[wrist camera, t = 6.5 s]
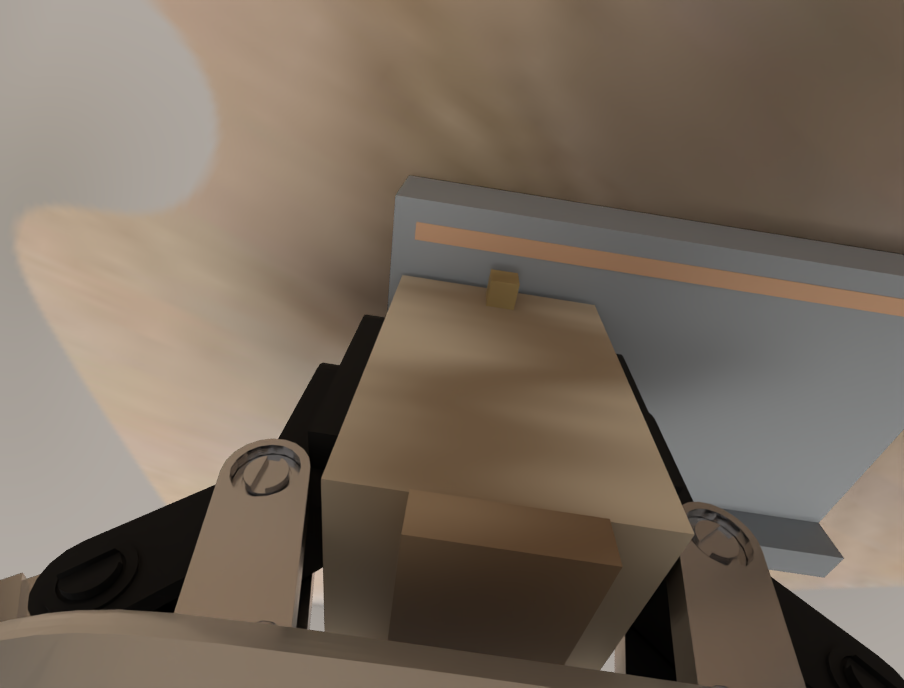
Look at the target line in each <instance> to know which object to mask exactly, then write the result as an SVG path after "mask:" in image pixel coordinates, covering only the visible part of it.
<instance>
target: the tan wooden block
mask: <svg viewBox="0 0 904 688" xmlns="http://www.w3.org/2000/svg"><path fill="white" fill-rule="evenodd" d="M519 286H520V284H519V276H518V273H513V272H506V271H500V270H494V269H491V271H490V276H489V281H488V286H487V288H483V287H476V286H470V285H464V284H457V283H451V282H445V281H438V280H432V279H426V278H419V277H413V276H406V275H402V277H401V280H400V282H399V285H398V287H397V290H396V292H395V295H394V297H393V300H392V302H391V305H390V307H389V310H388V312H387V315H386V317H385V320H384V322H383V325H382V327H381V330H380V332H379V335H378V337H377V340H376V342H375V345H374V347H373V350H372V352H371V355H370V357H369V360H368V362H367V365H366V367H365V370H364V372H363V375H362V377H361V380H360V382H359V385H358V387H357V390H356V392H355V395H354V397H353V400H352V402H351V405H350V407H349V410H348V412H347V415H346V417H345V420H344V422H343V425H342V427H341V430H340V432H339V435H338V437H337V440H336V442H335V445H334V447H333V450H332V452H331V455H330V457H329V460H328V463H327V465H326V468H325V470H324V473H323V475H322V478H321V499H322V541H323V583H324V622H325V623H324V624H325V632H329V633H337V634H344V635H351V636H359V637H366V638H373V639H381V640H388V641H395V642H402V643H410V644H417V645H424V646H432V647H439V648H446V649H453V650H460V651H467V652H474V653H481V654H488V655H495V656H502V657H509V658H516V659H523V660H530V661H537V662H544V663H551V664H558V665H565V666H572V667H579V668H586V669H593V670H601V668H602V667H603V665H604V664H605V662H606V661H607V659H608V658H609V657H610V655H611V654H612V652H613V651H614V650H615V648H616V647H617V645H618V644H619V642H620V641H621V639H622V638H623V637H624V635H625V634H626V632H627V631H628V629H629V628H630V627H631V625H632V624H633V622H634V621H635V619H636V618H637V617H638V615H639V614H640V612H641V611H642V609H643V608H644V606H645V605H646V604H647V602H648V601H649V599H650V598H651V596H652V595H653V594H654V592H655V591H656V589H657V588H658V586H659V585H660V584H661V582H662V581H663V579H664V578H665V576H666V575H667V573H668V572H669V571H670V569H671V568H672V566H673V565H674V563H675V562H676V561H677V559H678V558H679V556H680V555H681V553H682V552H683V551H684V549H685V548H686V546H687V545H688V543H689V542H690V540H691V539H692V538H693V536H694V535H695V534H694V532H693V529H692V527H691V525H690V522H689V520H688V518H687V515H686V513H685V511H684V509H683V506H682V504H681V502H680V499H679V497H678V495H677V493H676V490H675V488H674V486H673V483H672V481H671V479H670V477H669V474H668V472H667V470H666V467H665V465H664V463H663V460H662V458H661V456H660V454H659V451H658V449H657V447H656V444H655V442H654V440H653V438H652V435H651V433H650V431H649V428H648V426H647V424H646V422H645V419H644V417H643V415H642V412H641V410H640V408H639V406H638V403H637V401H636V399H635V396H634V394H633V392H632V389H631V387H630V385H629V383H628V380H627V378H626V376H625V373H624V371H623V369H622V367H621V364H620V362H619V360H618V357H617V355H616V353H615V351H614V348H613V346H612V344H611V341H610V339H609V337H608V334H607V332H606V330H605V328H604V325H603V323H602V321H601V318H600V316H599V314H598V312H597V309H596V307H595V305H591V304H585V303H578V302H572V301H565V300H559V299H553V298H546V297H540V296H534V295H527V294H521V293H518V290H519Z"/></svg>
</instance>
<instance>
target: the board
mask: <svg viewBox="0 0 904 688" xmlns="http://www.w3.org/2000/svg"><path fill="white" fill-rule="evenodd" d="M491 269H494V270H500V271H506V272H513V273H518V276H519V284H520V286H519V290H518V293H521V294H527V295H534V296H540V297H546V298H553V299H559V300H565V301H572V302H578V303H585V304H591V305H595V307H596V309H597V312H598V314H599V316H600V318H601V321H602V323H603V325H604V328H605V330H606V332H607V334H608V337H609V339H610V341H611V344H612V346H613V348H614V351H615V353H616V354H621V355H622V356H623V357H624V359H625V361H626V364H627V366H628V368H629V370H630V372H631V374H632V377H633V379H634V381H635V383H636V385H637V388H638V390H639V392H640V394H641V396H642V398H643V401H644V403H645V405H646V407H647V409H648V412H649V413H650V414H652V415H653V417H654V418H655V420H656V422H657V424H658V426H659V429H660V431H661V433H662V435H663V437H664V439H665V441H666V444H667V446H668V448H669V450H670V452H671V454H672V456H673V459H674V461H675V463H676V465H677V467H678V469H679V471H680V474H681V476H682V478H683V480H684V482H685V484H686V486H687V489H688V491H689V493H690V495H691V497H692V499H693V501H694V502H703V503H708V504H712V505H714V506H716V507H719V508H721V509H723V510H725V511H727V512H728V513H730V514H731V515H733V516H735V517H736V518H737V519H738V520H740V521H741V522H742V523H743V524H744V525H745V526H746V527H748V529H749V530H750V531H751V532H752V534H753V535H754V536H755V537H756V539H757V540H758V542H759V544H760V547H761V549H762V551H763V554H764V557H765V560H766V563H767V566H768V569H769V570H776V571H783V572H790V573H797V574H803V575H810V576H817V577H825V576H826V575H827V574H828V573H829V572H830V571H832V570H833V569H834V568H835V567H836V566H837V565H838V564H839V563H840V562H841V561H842V560H843V559H844V558H843V556H842V555H841V553H840V552H839V551H838V549H837V548H836V546H835V545H834V544H833V542H832V541H831V540H830V538H829V537H828V535H827V534H826V533H825V531H824V530H823V528H822V527H821V526H820V524H819V522H820V521H821V520H822V518H823V517H824V516H825V515H826V514H827V513H828V512H829V511H830V510H831V509H832V507H833V506H834V505H835V504H836V503H837V502H838V501H839V500H840V499H841V498H842V496H843V495H844V494H845V493H846V492H847V491H848V490H849V489H850V488H851V487H852V485H853V484H854V483H855V482H856V481H857V480H858V479H859V478H860V477H861V476H862V475H863V473H864V472H865V471H866V470H867V469H868V468H869V467H870V466H871V465H872V464H873V462H874V461H875V460H876V459H877V458H878V457H879V456H880V455H881V454H882V453H883V451H884V450H885V449H886V448H887V447H888V446H889V445H890V444H891V443H892V442H893V440H894V439H895V438H896V437H897V436H898V435H899V434H900V433H901V432H902V431H903V430H904V255H902V254H896V253H890V252H883V251H877V250H871V249H865V248H858V247H852V246H846V245H840V244H833V243H827V242H821V241H815V240H809V239H802V238H796V237H790V236H784V235H777V234H771V233H765V232H759V231H753V230H746V229H740V228H734V227H728V226H721V225H715V224H709V223H703V222H697V221H690V220H684V219H678V218H672V217H665V216H659V215H653V214H647V213H641V212H634V211H628V210H622V209H616V208H609V207H603V206H597V205H591V204H584V203H578V202H572V201H566V200H560V199H553V198H547V197H541V196H535V195H528V194H522V193H516V192H510V191H504V190H497V189H491V188H485V187H479V186H472V185H466V184H460V183H454V182H448V181H441V180H435V179H429V178H423V177H416V176H410V175H409V176H408V178H407V179H406V181H405V182H404V184H403V185H402V187H401V188H400V190H399V191H398V192H397V194H396V197H395V211H394V225H393V239H392V253H391V267H390V281H389V295H388V309H387V312H388V310H389V307H390V305H391V302H392V300H393V297H394V295H395V292H396V290H397V287H398V285H399V282H400V280H401V277H402V275H406V276H413V277H419V278H426V279H432V280H438V281H445V282H451V283H457V284H464V285H470V286H476V287H483V288H487V286H488V281H489V276H490V271H491Z"/></svg>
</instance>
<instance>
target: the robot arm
mask: <svg viewBox="0 0 904 688" xmlns="http://www.w3.org/2000/svg"><path fill="white" fill-rule="evenodd" d="M384 320H385V318H384V317H378V316H371V315H364V317H363V318H362V321H361V323H360V325H359V327H358V329H357V331H356V333H355V335H354V337H353V339H352V341H351V343H350V345H349V347H348V349H347V351H346V354H345V356H344V358H343V360H342V362H341V364H340V365H334V364H328V363H321V364H320V365H319V367H318V368H317V370H316V372H315V373H314V375H313V377H312V379H311V381H310V382H309V384H308V386H307V388H306V390H305V391H304V393H303V395H302V397H301V399H300V400H299V402H298V404H297V406H296V408H295V409H294V411H293V413H292V415H291V417H290V418H289V420H288V422H287V424H286V426H285V428H284V429H283V431H282V433H281V435H280V437H279V438H278V439H265V440H259V441H256V442H253V443H250V444H247V445H245V446H243V447H242V448H240V449H238V450H237V451H235V452H234V453H233V454H232V455H231V456H230V457H229V458H228V459H227V460H226V461H225V463H224V465H223V466H222V468H221V470H220V473H219V476H218V479H217V482H216V485H214V486H211V487H209V488H207V489H204V490H202V491H200V492H197V493H195V494H193V495H190V496H188V497H186V498H183V499H181V500H179V501H176V502H174V503H172V504H169V505H167V506H165V507H162V508H160V509H158V510H155V511H153V512H151V513H149V514H146V515H144V516H142V517H139V518H137V519H134V520H132V521H130V522H127V523H125V524H123V525H120V526H118V527H116V528H113V529H111V530H109V531H106V532H104V533H101V534H99V535H97V536H94V537H92V538H90V539H87V540H85V541H83V542H81V543H79V544H78V545H76V546H74V547H72V548H70V549H68V550H66V551H65V552H64V553H63V554H61V555H60V556H59V557H57V558H56V559H55V560H54V561H52V562H51V563H50V564H49V565H48V566H47V567H46V569H45V570H44V571H43V572H42V573H41V574H39V575H37V576H34V577H31V578H28V579H27V578H26V577H25V575H24V574H23V573H20V574H17V575H14V576H11V577H8V578H5V579H2V580H0V688H904V680H903V678H902V677H901V676H900V675H899V674H898V673H897V672H896V671H895V670H894V669H893V668H892V667H891V666H890V665H888V664H887V663H886V662H885V661H884V660H883V659H881V658H880V657H879V656H878V655H876V654H875V653H874V652H872V651H871V650H870V649H868V648H867V647H865V646H864V645H863V644H861V643H860V642H859V641H857V640H856V639H855V638H853V637H852V636H851V635H849V634H848V633H846V632H845V631H844V630H842V629H841V628H840V627H838V626H837V625H836V624H834V623H833V622H832V621H830V620H829V619H827V618H826V617H825V616H823V615H822V614H821V613H819V612H818V611H817V610H815V609H814V608H812V607H811V606H810V605H808V604H807V603H806V602H804V601H803V600H802V599H800V598H799V597H798V596H796V595H795V594H794V593H792V592H791V591H790V590H788V589H787V588H785V587H784V586H783V585H781V584H780V583H779V582H777V581H776V580H775V579H773V578H772V577H771V576H770V573H769V569H768V566H767V563H766V560H765V557H764V554H763V551H762V549H761V547H760V544H759V542H758V540H757V539H756V537H755V536H754V535H753V534H752V532H751V531H750V530H749V529H748V527H746V526H745V525H744V524H743V523H742V522H741V521H740V520H738V519H737V518H736V517H735V516H733V515H731V514H730V513H728V512H727V511H725V510H723V509H721V508H719V507H716V506H714V505H712V504H708V503H703V502H694V501H693V499H692V497H691V495H690V493H689V491H688V489H687V486H686V484H685V482H684V480H683V478H682V476H681V474H680V471H679V469H678V467H677V465H676V463H675V461H674V459H673V456H672V454H671V452H670V450H669V448H668V446H667V444H666V441H665V439H664V437H663V435H662V433H661V431H660V429H659V426H658V424H657V422H656V420H655V418H654V417H653V415H652V414H650V413H649V412H648V409H647V407H646V405H645V403H644V401H643V398H642V396H641V394H640V392H639V390H638V388H637V385H636V383H635V381H634V379H633V377H632V374H631V372H630V370H629V368H628V366H627V364H626V361H625V359H624V357H623V356H622V355H621V354H616V355H617V357H618V360H619V362H620V364H621V367H622V369H623V371H624V373H625V376H626V378H627V380H628V383H629V385H630V387H631V389H632V392H633V394H634V396H635V399H636V401H637V403H638V406H639V408H640V410H641V412H642V415H643V417H644V419H645V422H646V424H647V426H648V428H649V431H650V433H651V435H652V438H653V440H654V442H655V444H656V447H657V449H658V451H659V454H660V456H661V458H662V460H663V463H664V465H665V467H666V470H667V472H668V474H669V477H670V479H671V481H672V483H673V486H674V488H675V490H676V493H677V495H678V497H679V499H680V502H681V504H682V506H683V509H684V511H685V513H686V515H687V518H688V520H689V522H690V525H691V527H692V529H693V532H694V534H695V535H694V536H693V538H692V539H691V540H690V542H689V543H688V545H687V546H686V548H685V549H684V551H683V552H682V553H681V555H680V556H679V558H678V559H677V561H676V562H675V563H674V565H673V566H672V568H671V569H670V571H669V572H668V573H667V575H666V576H665V578H664V579H663V581H662V582H661V584H660V585H659V586H658V588H657V589H656V591H655V592H654V594H653V595H652V596H651V598H650V599H649V601H648V602H647V604H646V605H645V606H644V608H643V609H642V611H641V612H640V614H639V615H638V617H637V618H636V619H635V621H634V622H633V624H632V625H631V627H630V628H629V629H628V631H627V632H626V634H625V635H624V637H623V638H622V639H621V641H620V642H619V644H618V645H617V647H616V648H615V673H614V672H607V671H600V670H593V669H586V668H579V667H572V666H565V665H558V664H551V663H544V662H537V661H530V660H523V659H516V658H509V657H502V656H495V655H488V654H481V653H474V652H467V651H460V650H453V649H446V648H439V647H432V646H424V645H417V644H410V643H402V642H395V641H388V640H381V639H373V638H366V637H359V636H351V635H344V634H337V633H329V632H322V631H314V630H310V620H311V609H312V598H313V586H314V574H315V572H316V571H317V570H319V569H321V568H322V567H323V541H322V499H321V478H322V475H323V473H324V470H325V468H326V465H327V463H328V460H329V457H330V455H331V452H332V450H333V447H334V445H335V442H336V440H337V437H338V435H339V432H340V430H341V427H342V425H343V422H344V420H345V417H346V415H347V412H348V410H349V407H350V405H351V402H352V400H353V397H354V395H355V392H356V390H357V387H358V385H359V382H360V380H361V377H362V375H363V372H364V370H365V367H366V365H367V362H368V360H369V357H370V355H371V352H372V350H373V347H374V345H375V342H376V340H377V337H378V335H379V332H380V330H381V327H382V325H383V322H384Z"/></svg>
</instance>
